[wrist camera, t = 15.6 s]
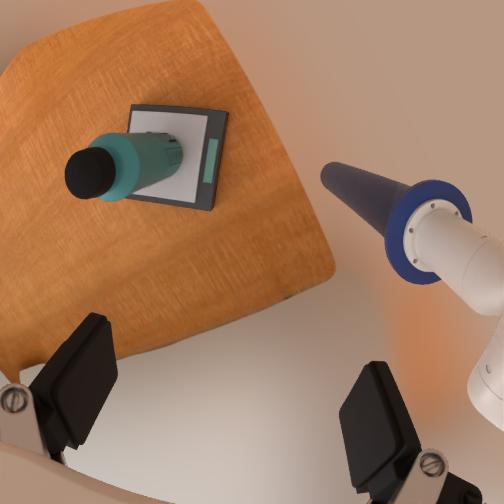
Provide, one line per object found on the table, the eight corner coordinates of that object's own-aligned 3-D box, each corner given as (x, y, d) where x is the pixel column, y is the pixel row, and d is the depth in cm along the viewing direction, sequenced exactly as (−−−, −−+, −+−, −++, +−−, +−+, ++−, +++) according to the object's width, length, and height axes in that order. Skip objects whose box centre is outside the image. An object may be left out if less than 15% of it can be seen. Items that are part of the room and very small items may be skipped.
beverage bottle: (193, 137, 36) (125, 138, 17) (180, 184, 38) (109, 226, 20) (149, 127, 36) (58, 125, 17) (138, 173, 38) (47, 205, 19)
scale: (228, 113, 37) (226, 110, 35) (213, 207, 42) (210, 212, 40) (137, 105, 37) (129, 103, 34) (127, 194, 42) (119, 198, 39)
